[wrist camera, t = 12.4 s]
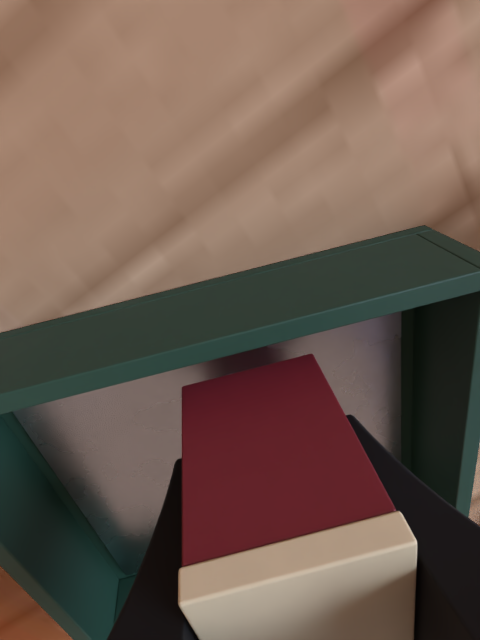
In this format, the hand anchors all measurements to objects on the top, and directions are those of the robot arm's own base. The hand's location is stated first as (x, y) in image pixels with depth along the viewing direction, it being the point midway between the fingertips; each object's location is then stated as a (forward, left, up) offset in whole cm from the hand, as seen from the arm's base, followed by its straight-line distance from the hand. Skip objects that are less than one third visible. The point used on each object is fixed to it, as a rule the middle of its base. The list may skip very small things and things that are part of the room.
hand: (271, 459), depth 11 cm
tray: (+1, +3, -4) cm, 5 cm away
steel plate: (+1, +3, -4) cm, 5 cm away
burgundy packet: (0, 0, -1) cm, 1 cm away
